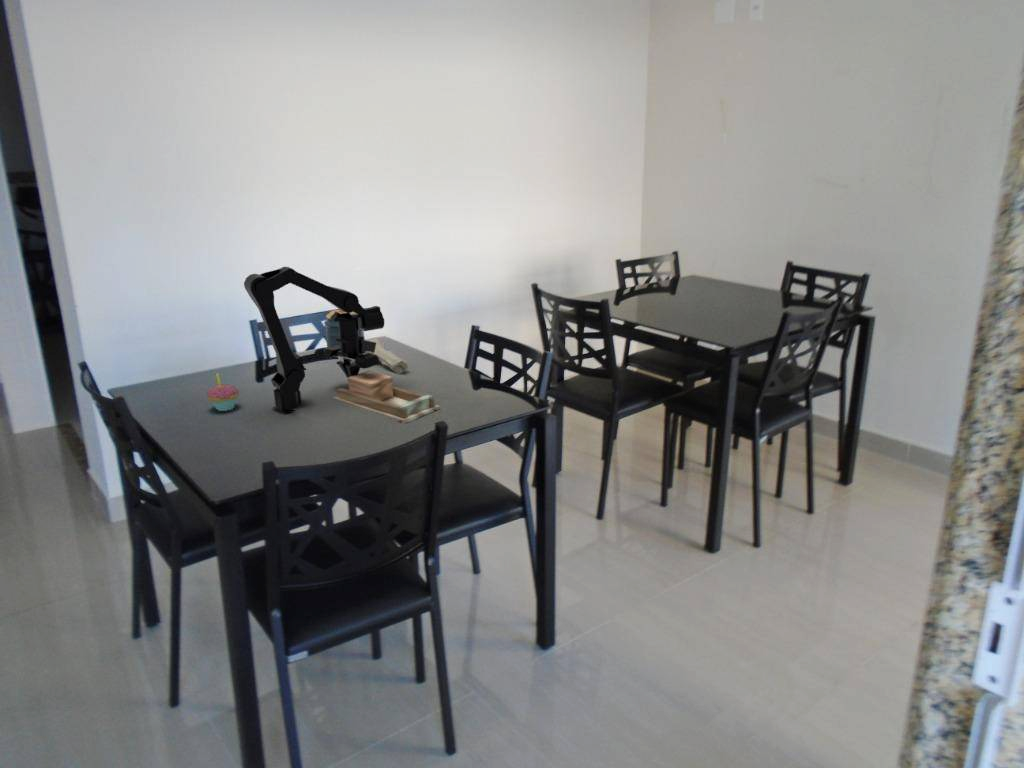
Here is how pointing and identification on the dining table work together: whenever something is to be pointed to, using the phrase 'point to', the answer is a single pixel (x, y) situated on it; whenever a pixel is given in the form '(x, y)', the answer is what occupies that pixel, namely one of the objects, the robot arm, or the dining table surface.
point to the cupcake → (223, 396)
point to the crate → (372, 385)
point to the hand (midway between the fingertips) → (353, 384)
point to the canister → (335, 330)
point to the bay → (393, 403)
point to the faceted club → (388, 357)
